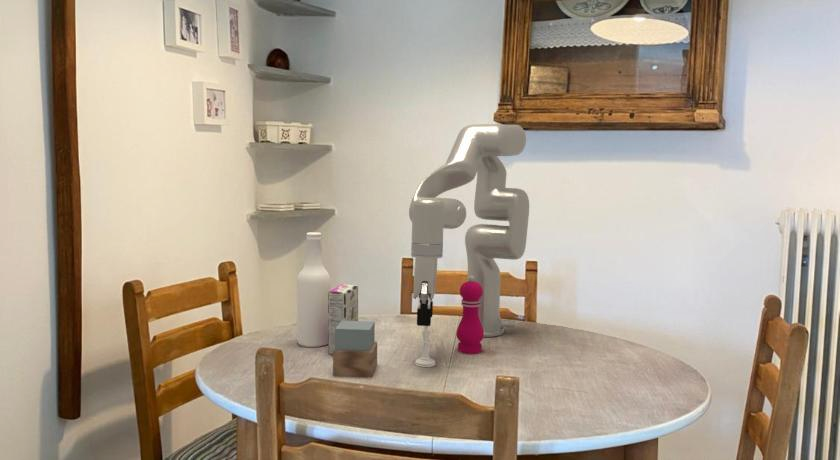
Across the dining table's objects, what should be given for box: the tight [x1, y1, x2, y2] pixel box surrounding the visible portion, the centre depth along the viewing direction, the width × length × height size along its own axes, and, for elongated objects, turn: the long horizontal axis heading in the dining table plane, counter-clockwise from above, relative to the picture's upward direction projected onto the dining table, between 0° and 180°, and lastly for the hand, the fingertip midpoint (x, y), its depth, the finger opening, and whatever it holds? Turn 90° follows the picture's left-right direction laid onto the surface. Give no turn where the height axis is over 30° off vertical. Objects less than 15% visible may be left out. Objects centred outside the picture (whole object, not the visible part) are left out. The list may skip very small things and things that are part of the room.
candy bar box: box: [328, 283, 359, 356], centre depth 168 cm, size 11×5×16 cm, turn 168°
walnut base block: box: [332, 341, 378, 378], centre depth 151 cm, size 9×9×6 cm
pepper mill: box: [456, 275, 485, 355], centre depth 169 cm, size 7×7×20 cm
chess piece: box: [415, 326, 436, 368], centre depth 157 cm, size 5×5×10 cm
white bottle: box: [296, 231, 331, 348], centre depth 173 cm, size 9×9×30 cm
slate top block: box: [335, 320, 376, 351], centre depth 151 cm, size 8×8×5 cm
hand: (424, 321), depth 156 cm, fingers open, 9 cm apart
